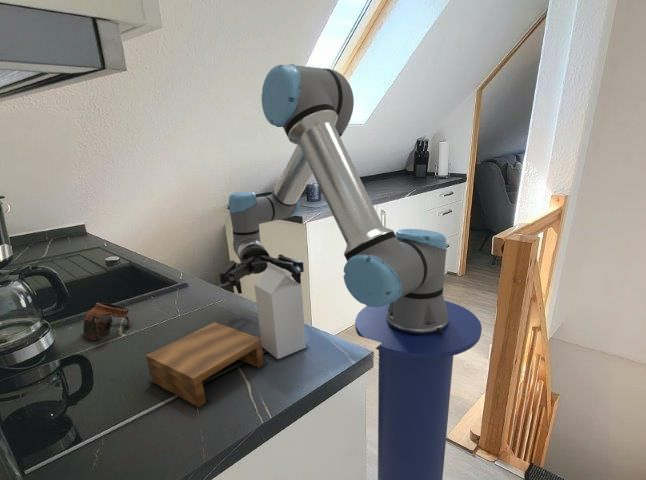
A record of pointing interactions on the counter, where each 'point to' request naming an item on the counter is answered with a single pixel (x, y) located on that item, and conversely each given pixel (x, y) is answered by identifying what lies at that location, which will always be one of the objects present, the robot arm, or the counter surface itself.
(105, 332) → the pottery mug
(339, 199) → the robot arm
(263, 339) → the milk carton
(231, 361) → the oak shelf
